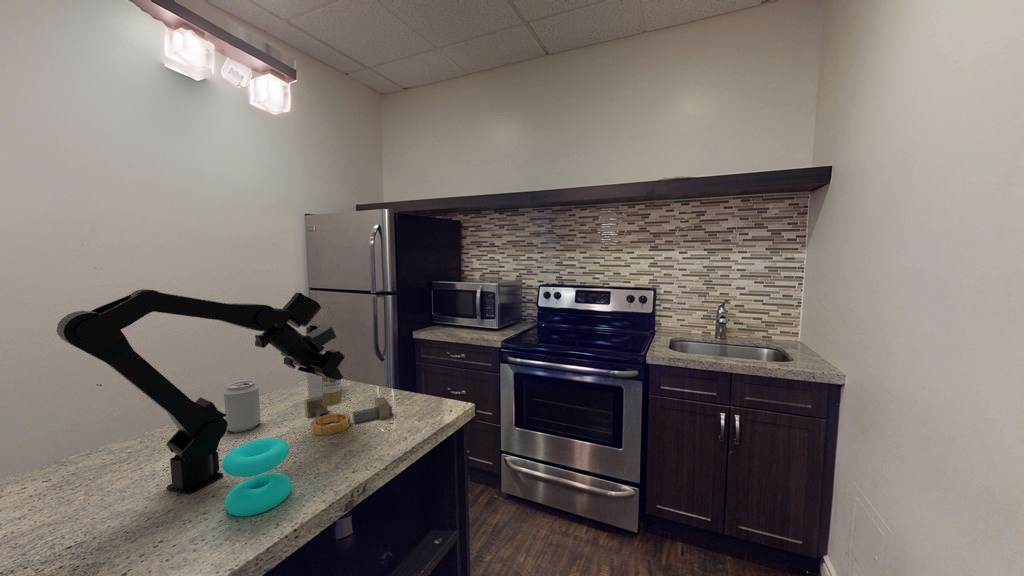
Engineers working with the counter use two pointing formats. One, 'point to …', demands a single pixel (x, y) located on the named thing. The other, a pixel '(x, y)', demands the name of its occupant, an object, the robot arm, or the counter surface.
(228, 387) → the can
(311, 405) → the coupling jig
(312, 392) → the light bulb box
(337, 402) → the sprinkles bottle
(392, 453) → the counter surface
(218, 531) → the counter surface
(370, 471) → the counter surface
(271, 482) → the donuts
